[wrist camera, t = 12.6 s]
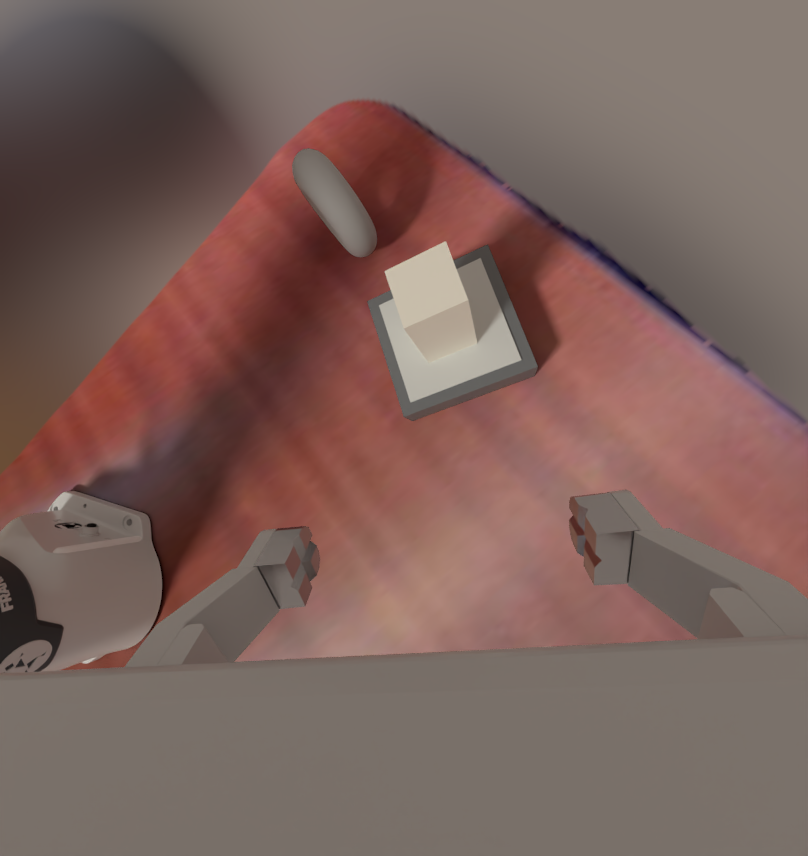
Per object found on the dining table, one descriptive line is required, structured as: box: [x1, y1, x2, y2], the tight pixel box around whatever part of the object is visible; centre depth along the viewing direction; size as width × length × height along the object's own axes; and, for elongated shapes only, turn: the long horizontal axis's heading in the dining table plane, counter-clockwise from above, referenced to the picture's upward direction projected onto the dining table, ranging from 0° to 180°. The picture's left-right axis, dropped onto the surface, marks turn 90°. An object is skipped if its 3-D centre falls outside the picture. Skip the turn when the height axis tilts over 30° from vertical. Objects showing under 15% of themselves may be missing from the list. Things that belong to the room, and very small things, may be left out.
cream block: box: [385, 241, 477, 363], centre depth 26 cm, size 4×4×8 cm
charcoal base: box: [367, 244, 538, 421], centre depth 32 cm, size 12×12×3 cm
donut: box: [292, 148, 377, 257], centre depth 33 cm, size 10×4×10 cm, turn 38°
